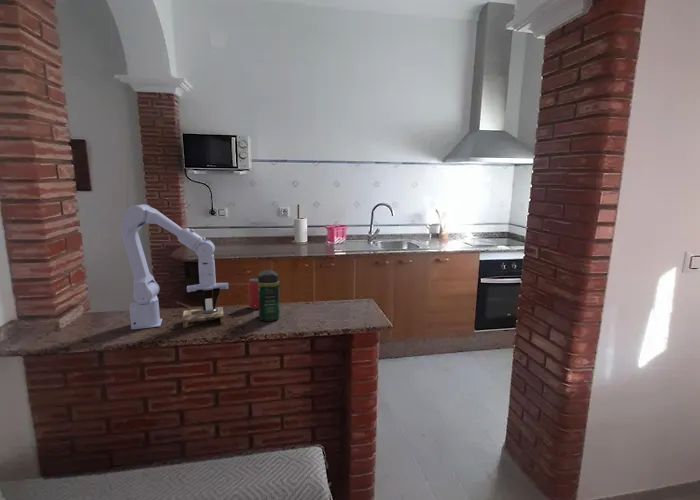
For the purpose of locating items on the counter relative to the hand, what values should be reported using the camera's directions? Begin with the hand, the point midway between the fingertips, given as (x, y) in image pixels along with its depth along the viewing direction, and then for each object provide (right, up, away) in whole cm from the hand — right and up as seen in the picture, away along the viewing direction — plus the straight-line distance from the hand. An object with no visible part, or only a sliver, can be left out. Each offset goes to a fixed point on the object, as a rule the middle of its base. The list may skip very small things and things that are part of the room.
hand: (209, 308), depth 147 cm
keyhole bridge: (-2, -5, 0) cm, 6 cm away
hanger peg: (0, -4, +1) cm, 4 cm away
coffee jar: (+22, -5, +5) cm, 23 cm away
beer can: (+14, -2, +18) cm, 23 cm away
